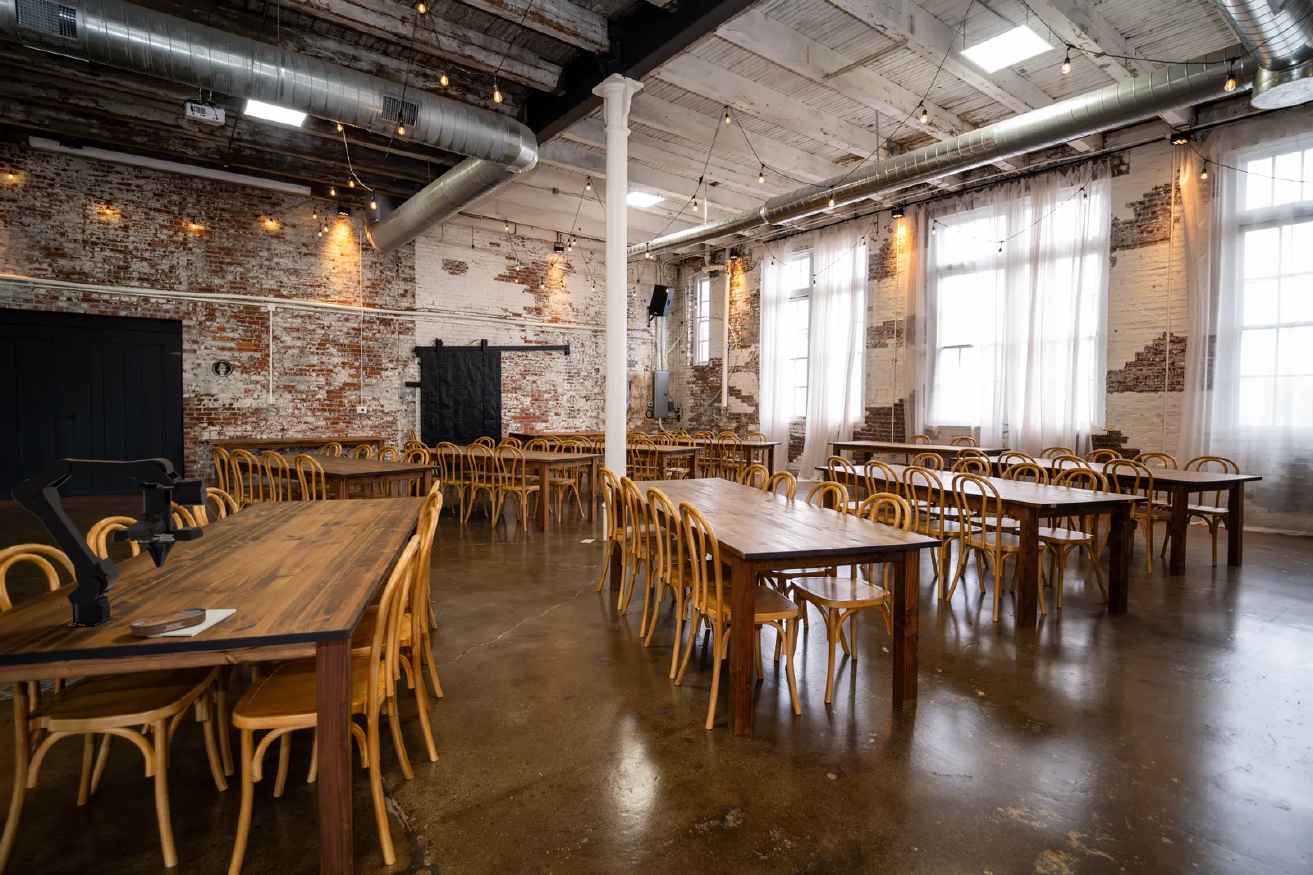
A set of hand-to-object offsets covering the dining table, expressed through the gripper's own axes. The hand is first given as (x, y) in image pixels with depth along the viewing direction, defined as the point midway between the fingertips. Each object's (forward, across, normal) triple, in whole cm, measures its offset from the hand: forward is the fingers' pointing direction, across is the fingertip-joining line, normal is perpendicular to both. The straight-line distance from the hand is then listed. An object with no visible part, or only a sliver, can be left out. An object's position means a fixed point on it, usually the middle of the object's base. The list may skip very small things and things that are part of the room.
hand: (159, 567), depth 167 cm
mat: (+13, +12, -6) cm, 19 cm away
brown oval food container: (+11, +6, -8) cm, 15 cm away
